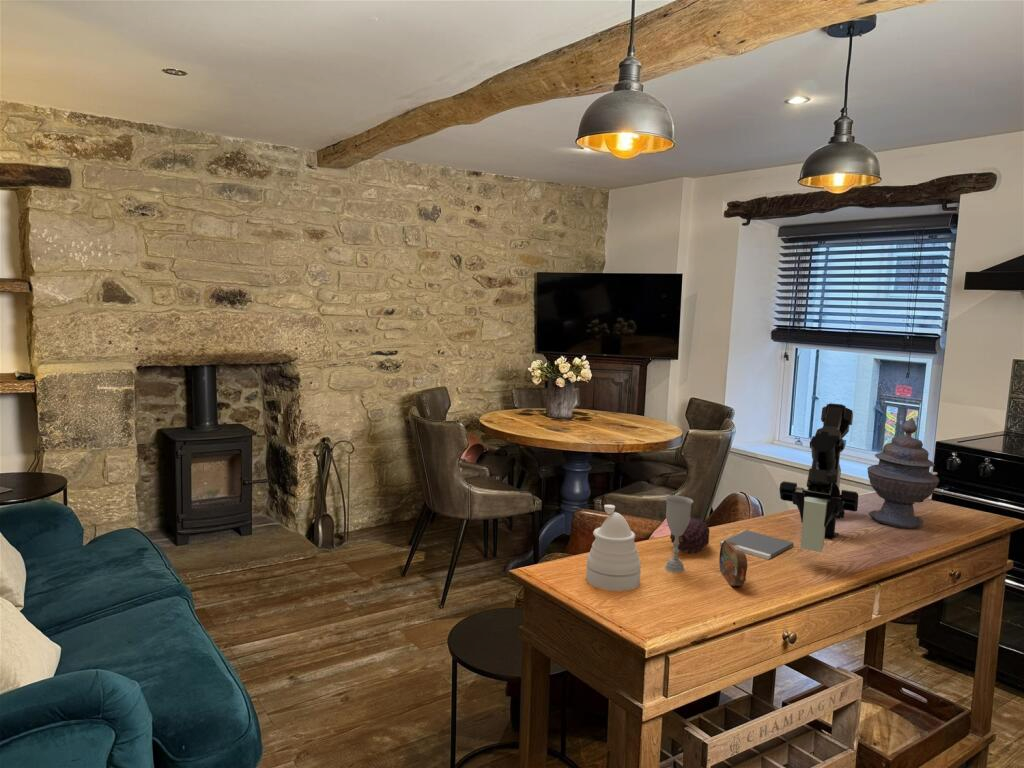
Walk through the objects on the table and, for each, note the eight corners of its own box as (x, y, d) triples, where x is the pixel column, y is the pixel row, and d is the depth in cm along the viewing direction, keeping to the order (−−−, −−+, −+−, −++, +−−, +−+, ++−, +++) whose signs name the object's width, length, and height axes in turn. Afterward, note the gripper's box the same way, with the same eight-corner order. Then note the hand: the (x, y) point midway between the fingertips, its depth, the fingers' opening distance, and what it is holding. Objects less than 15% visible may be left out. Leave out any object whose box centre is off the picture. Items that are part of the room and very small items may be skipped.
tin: (717, 567, 180) (719, 535, 180) (729, 568, 180) (732, 536, 179) (733, 591, 166) (736, 557, 165) (747, 592, 165) (750, 557, 164)
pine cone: (682, 536, 203) (704, 511, 201) (706, 562, 197) (729, 536, 194) (652, 534, 190) (675, 506, 187) (677, 561, 184) (701, 533, 181)
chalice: (655, 565, 180) (659, 496, 178) (677, 562, 183) (681, 494, 181) (672, 575, 174) (676, 504, 172) (694, 572, 176) (699, 502, 174)
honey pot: (575, 580, 169) (579, 507, 167) (604, 566, 179) (608, 497, 177) (621, 596, 161) (626, 519, 159) (649, 580, 171) (653, 508, 169)
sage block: (803, 542, 185) (807, 496, 184) (823, 546, 183) (827, 499, 181) (800, 548, 181) (804, 501, 179) (821, 552, 178) (825, 504, 177)
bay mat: (746, 533, 208) (746, 530, 208) (793, 546, 199) (793, 542, 198) (719, 545, 197) (719, 542, 197) (767, 559, 187) (768, 555, 187)
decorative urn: (844, 512, 230) (864, 409, 225) (889, 512, 237) (909, 412, 233) (897, 535, 212) (920, 423, 207) (943, 534, 219) (966, 425, 214)
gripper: (783, 451, 187) (773, 501, 179) (861, 461, 178) (854, 514, 169) (785, 474, 195) (775, 523, 186) (860, 485, 185) (853, 537, 177)
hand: (813, 524), depth 180 cm, fingers closed on sage block, 5 cm apart
